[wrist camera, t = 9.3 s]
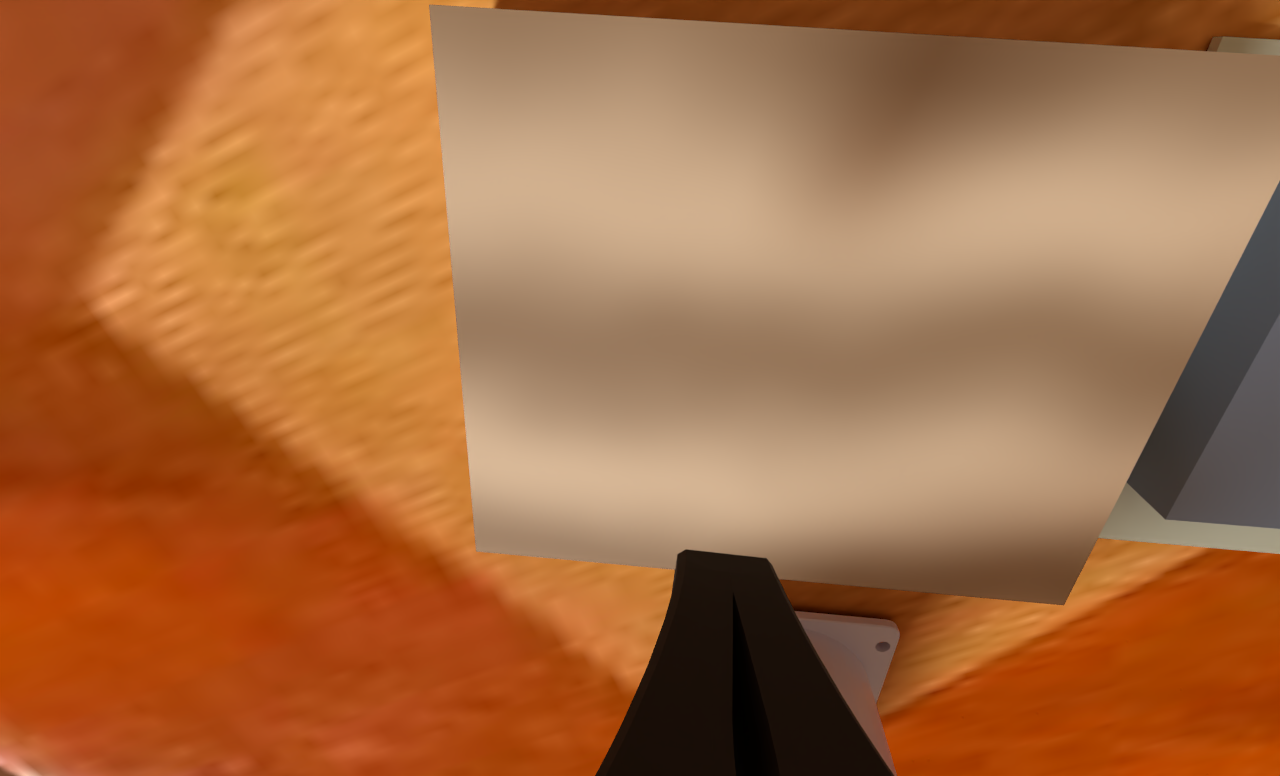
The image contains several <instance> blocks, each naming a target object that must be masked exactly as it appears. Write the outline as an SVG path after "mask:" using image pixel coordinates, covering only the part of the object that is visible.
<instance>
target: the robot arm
mask: <svg viewBox="0 0 1280 776" xmlns="http://www.w3.org/2000/svg"><path fill="white" fill-rule="evenodd" d="M899 638H900V632H899V630H898V627H897V625H896V623H894V622H893V621H890V620H886V619H875V618H865V617H854V616H843V615H833V614H822V613H811V612H800V611H794V609H793V607H792V605H791V603H790V601H789V599H788V597H787V595H786V593H785V591H784V589H783V587H782V585H781V583H780V581H779V579H778V576H777V574H776V572H775V570H774V568H773V565H772V564H771V563H770V562H769V561H768V559H767V558H760V557H751V556H742V555H733V554H724V553H715V552H706V551H697V550H688V549H685V550H684V551H682V552H680V553H679V554H677V561H676V568H675V575H674V582H673V589H672V596H671V600H670V603H669V607H668V610H667V613H666V617H665V620H664V623H663V626H662V628H661V631H660V634H659V637H658V639H657V642H656V645H655V648H654V650H653V653H652V656H651V659H650V661H649V664H648V666H647V669H646V671H645V673H644V676H643V678H642V680H641V682H640V685H639V687H638V689H637V691H636V694H635V696H634V698H633V700H632V702H631V705H630V707H629V709H628V711H627V714H626V716H625V718H624V720H623V722H622V724H621V727H620V729H619V731H618V733H617V735H616V737H615V739H614V741H613V743H612V745H611V747H610V749H609V751H608V753H607V755H606V756H605V758H604V760H603V762H602V764H601V766H600V768H599V770H598V772H597V773H596V775H595V776H897V774H896V771H895V767H894V764H893V761H892V757H891V754H890V750H889V747H888V744H887V740H886V737H885V733H884V730H883V726H882V723H881V720H880V716H879V713H878V709H877V706H876V703H877V700H878V697H879V695H880V692H881V689H882V686H883V683H884V680H885V678H886V675H887V672H888V669H889V666H890V663H891V661H892V658H893V655H894V652H895V649H896V646H897V644H898V641H899ZM879 642H882V643H879Z"/></svg>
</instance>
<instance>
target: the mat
mask: <svg viewBox="0 0 1280 776" xmlns="http://www.w3.org/2000/svg"><path fill="white" fill-rule="evenodd" d="M1207 51H1211V52H1228V53H1245V54H1261V55H1278V56H1280V40H1275V39H1258V38H1241V37H1224V36H1222V37H1213V38H1212V41H1211V43H1210V45H1209V48H1208V50H1207ZM1098 538H1105V539H1116V540H1128V541H1139V542H1151V543H1162V544H1173V545H1185V546H1196V547H1208V548H1219V549H1230V550H1242V551H1253V552H1265V553H1276V554H1280V529H1274V528H1262V527H1250V526H1238V525H1225V524H1213V523H1201V522H1189V521H1177V520H1165V519H1164V518H1163V517H1162V516H1161V515H1160V514H1159V513H1158V512H1157V511H1156V510H1155V509H1154V508H1153V507H1152V506H1151V505H1150V504H1149V503H1147V502H1146V501H1145V500H1144V499H1143V498H1142V497H1141V496H1140V495H1139V494H1138V493H1137V492H1136V491H1135V490H1134V489H1133V488H1132V487H1131V486H1130V485H1129V484H1128V483H1127V482H1126V484H1125V486H1124V488H1123V490H1122V492H1121V494H1120V496H1119V498H1118V500H1117V502H1116V504H1115V506H1114V508H1113V510H1112V512H1111V514H1110V515H1109V517H1108V519H1107V521H1106V523H1105V525H1104V527H1103V529H1102V531H1101V533H1100V535H1099V537H1098Z"/></svg>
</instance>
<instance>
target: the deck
mask: <svg viewBox="0 0 1280 776" xmlns="http://www.w3.org/2000/svg"><path fill="white" fill-rule="evenodd" d="M429 9H430V20H431V32H432V43H433V55H434V67H435V78H436V90H437V102H438V113H439V125H440V136H441V148H442V160H443V171H444V183H445V195H446V206H447V218H448V229H449V241H450V253H451V264H452V276H453V288H454V299H455V311H456V322H457V334H458V346H459V357H460V369H461V380H462V392H463V404H464V415H465V427H466V439H467V450H468V462H469V473H470V485H471V497H472V508H473V520H474V532H475V543H476V551H478V552H489V553H500V554H510V555H521V556H532V557H543V558H554V559H565V560H576V561H587V562H598V563H609V564H620V565H630V566H641V567H652V568H663V569H674V570H675V568H676V561H677V554H679V553H680V552H682V551H684V550H685V549H688V550H697V551H706V552H715V553H724V554H733V555H742V556H751V557H760V558H767V559H768V561H769V562H770V563H771V564H772V565H773V568H774V570H775V572H776V574H777V576H778V579H783V580H794V581H805V582H816V583H827V584H838V585H849V586H860V587H871V588H881V589H892V590H903V591H914V592H925V593H936V594H947V595H958V596H969V597H980V598H991V599H1002V600H1012V601H1023V602H1034V603H1045V604H1056V605H1064V604H1065V602H1066V600H1067V598H1068V596H1069V594H1070V592H1071V590H1072V588H1073V586H1074V584H1075V582H1076V580H1077V578H1078V576H1079V574H1080V573H1081V571H1082V569H1083V567H1084V565H1085V563H1086V561H1087V559H1088V557H1089V555H1090V553H1091V551H1092V549H1093V547H1094V545H1095V543H1096V541H1097V539H1098V537H1099V535H1100V533H1101V531H1102V529H1103V527H1104V525H1105V523H1106V521H1107V519H1108V517H1109V515H1110V514H1111V512H1112V510H1113V508H1114V506H1115V504H1116V502H1117V500H1118V498H1119V496H1120V494H1121V492H1122V490H1123V488H1124V486H1125V484H1126V482H1127V480H1128V478H1129V476H1130V474H1131V472H1132V470H1133V468H1134V466H1135V464H1136V462H1137V460H1138V458H1139V456H1140V455H1141V453H1142V451H1143V449H1144V447H1145V445H1146V443H1147V441H1148V439H1149V437H1150V435H1151V433H1152V431H1153V429H1154V427H1155V425H1156V423H1157V421H1158V419H1159V417H1160V415H1161V413H1162V411H1163V409H1164V407H1165V405H1166V403H1167V401H1168V399H1169V397H1170V395H1171V394H1172V392H1173V390H1174V388H1175V386H1176V384H1177V382H1178V380H1179V378H1180V376H1181V374H1182V372H1183V370H1184V368H1185V366H1186V364H1187V362H1188V360H1189V358H1190V356H1191V354H1192V352H1193V350H1194V348H1195V346H1196V344H1197V342H1198V340H1199V338H1200V336H1201V335H1202V333H1203V331H1204V329H1205V327H1206V325H1207V323H1208V321H1209V319H1210V317H1211V315H1212V313H1213V311H1214V309H1215V307H1216V305H1217V303H1218V301H1219V299H1220V297H1221V295H1222V293H1223V291H1224V289H1225V287H1226V285H1227V283H1228V281H1229V279H1230V277H1231V276H1232V274H1233V272H1234V270H1235V268H1236V266H1237V264H1238V262H1239V260H1240V258H1241V256H1242V254H1243V252H1244V250H1245V248H1246V246H1247V244H1248V242H1249V240H1250V238H1251V236H1252V234H1253V232H1254V230H1255V228H1256V226H1257V224H1258V222H1259V220H1260V218H1261V217H1262V215H1263V213H1264V211H1265V209H1266V207H1267V205H1268V203H1269V201H1270V199H1271V197H1272V195H1273V193H1274V191H1275V189H1276V187H1277V185H1278V183H1279V181H1280V56H1278V55H1261V54H1245V53H1228V52H1211V51H1194V50H1178V49H1161V48H1144V47H1128V46H1111V45H1094V44H1078V43H1061V42H1044V41H1027V40H1011V39H994V38H977V37H961V36H944V35H927V34H910V33H894V32H877V31H860V30H844V29H827V28H810V27H793V26H777V25H760V24H743V23H727V22H710V21H693V20H676V19H660V18H643V17H626V16H610V15H593V14H576V13H559V12H543V11H526V10H509V9H493V8H476V7H459V6H442V5H429Z"/></svg>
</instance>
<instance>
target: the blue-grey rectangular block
mask: <svg viewBox="0 0 1280 776" xmlns="http://www.w3.org/2000/svg"><path fill="white" fill-rule="evenodd" d="M1127 483H1128V484H1129V485H1130V486H1131V487H1132V488H1133V489H1134V490H1135V491H1136V492H1137V493H1138V494H1139V495H1140V496H1141V497H1142V498H1143V499H1144V500H1145V501H1146V502H1147V503H1149V504H1150V505H1151V506H1152V507H1153V508H1154V509H1155V510H1156V511H1157V512H1158V513H1159V514H1160V515H1161V516H1162V517H1163V518H1164V519H1165V520H1177V521H1189V522H1201V523H1213V524H1225V525H1238V526H1250V527H1262V528H1274V529H1280V181H1279V183H1278V185H1277V187H1276V189H1275V191H1274V193H1273V195H1272V197H1271V199H1270V201H1269V203H1268V205H1267V207H1266V209H1265V211H1264V213H1263V215H1262V217H1261V218H1260V220H1259V222H1258V224H1257V226H1256V228H1255V230H1254V232H1253V234H1252V236H1251V238H1250V240H1249V242H1248V244H1247V246H1246V248H1245V250H1244V252H1243V254H1242V256H1241V258H1240V260H1239V262H1238V264H1237V266H1236V268H1235V270H1234V272H1233V274H1232V276H1231V277H1230V279H1229V281H1228V283H1227V285H1226V287H1225V289H1224V291H1223V293H1222V295H1221V297H1220V299H1219V301H1218V303H1217V305H1216V307H1215V309H1214V311H1213V313H1212V315H1211V317H1210V319H1209V321H1208V323H1207V325H1206V327H1205V329H1204V331H1203V333H1202V335H1201V336H1200V338H1199V340H1198V342H1197V344H1196V346H1195V348H1194V350H1193V352H1192V354H1191V356H1190V358H1189V360H1188V362H1187V364H1186V366H1185V368H1184V370H1183V372H1182V374H1181V376H1180V378H1179V380H1178V382H1177V384H1176V386H1175V388H1174V390H1173V392H1172V394H1171V395H1170V397H1169V399H1168V401H1167V403H1166V405H1165V407H1164V409H1163V411H1162V413H1161V415H1160V417H1159V419H1158V421H1157V423H1156V425H1155V427H1154V429H1153V431H1152V433H1151V435H1150V437H1149V439H1148V441H1147V443H1146V445H1145V447H1144V449H1143V451H1142V453H1141V455H1140V456H1139V458H1138V460H1137V462H1136V464H1135V466H1134V468H1133V470H1132V472H1131V474H1130V476H1129V478H1128V480H1127Z"/></svg>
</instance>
